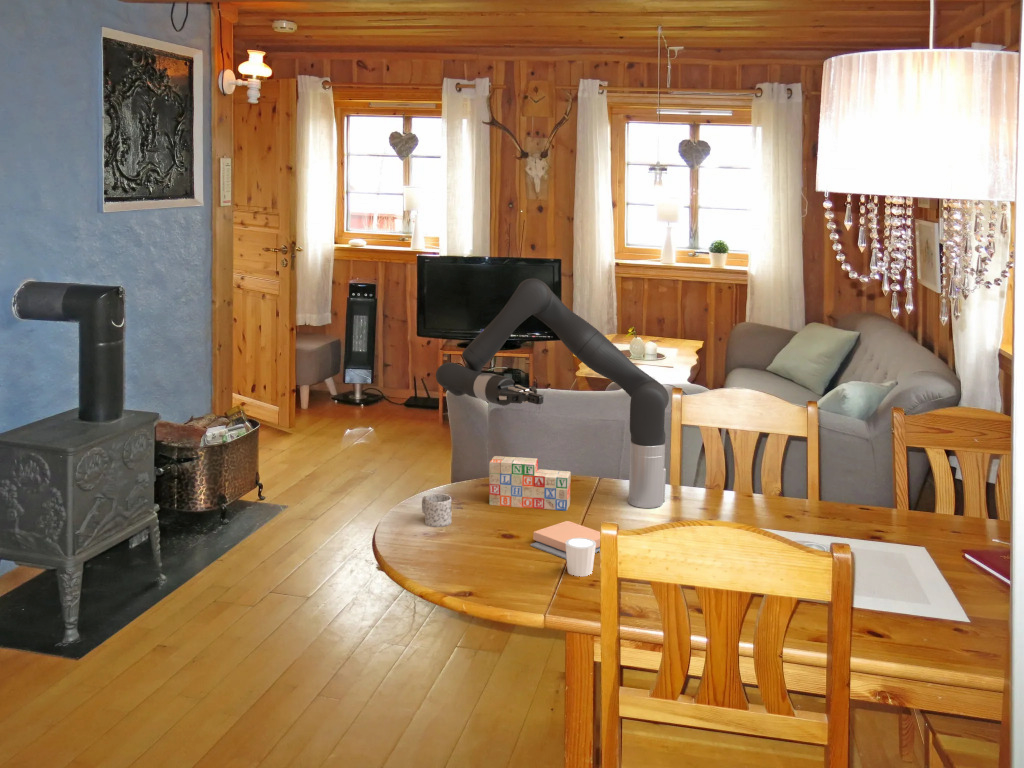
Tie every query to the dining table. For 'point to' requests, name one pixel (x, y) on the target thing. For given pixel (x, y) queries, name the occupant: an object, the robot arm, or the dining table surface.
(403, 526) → the dining table surface
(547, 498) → the stack of blocks
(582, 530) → the tile
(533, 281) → the robot arm
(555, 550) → the mat
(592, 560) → the white cup
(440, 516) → the mug
